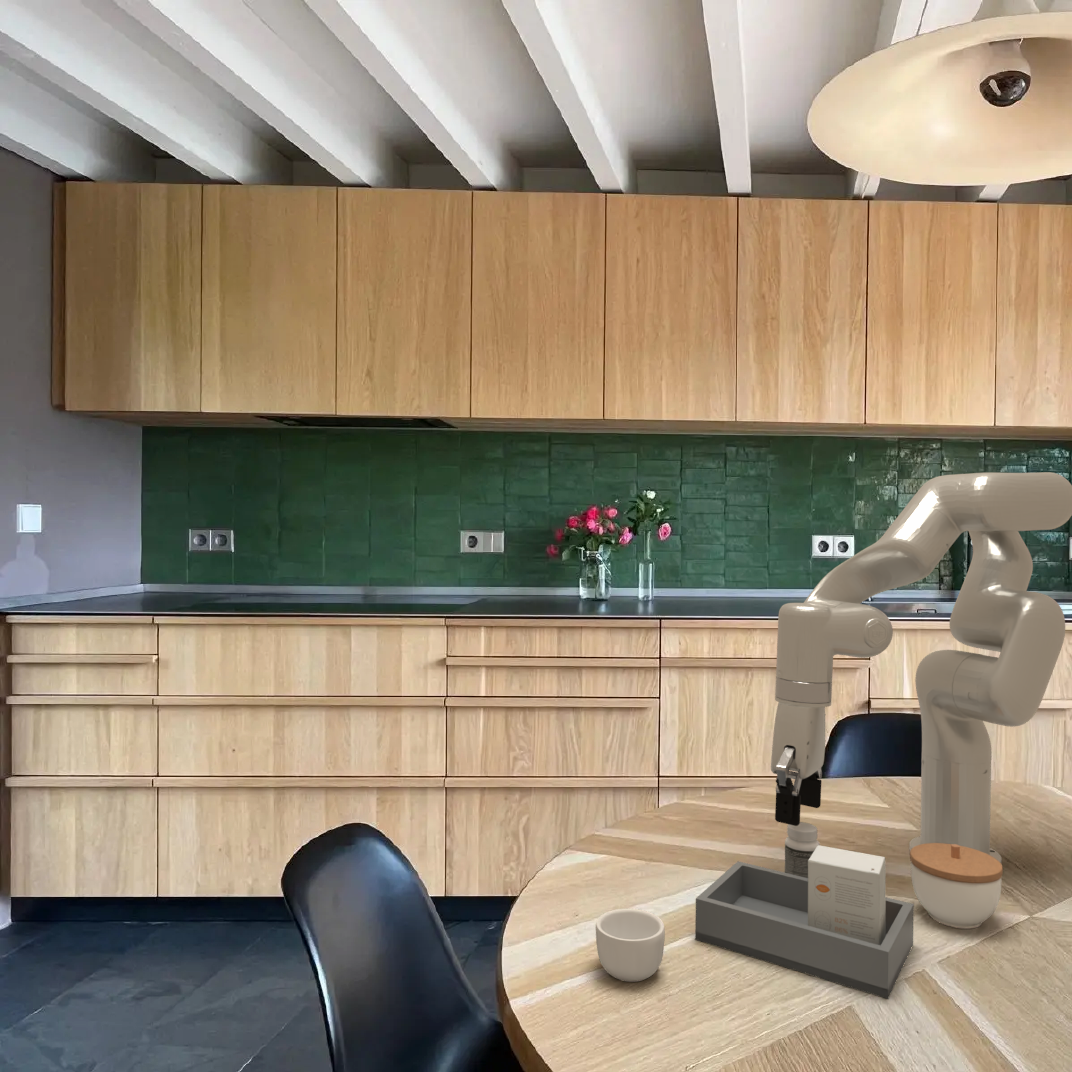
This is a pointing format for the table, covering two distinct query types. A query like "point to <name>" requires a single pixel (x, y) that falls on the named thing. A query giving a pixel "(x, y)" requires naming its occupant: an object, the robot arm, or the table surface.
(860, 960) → the tote
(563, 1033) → the table surface
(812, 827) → the pill bottle
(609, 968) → the teacup
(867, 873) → the small box
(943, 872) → the lidded jar
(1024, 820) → the table surface
